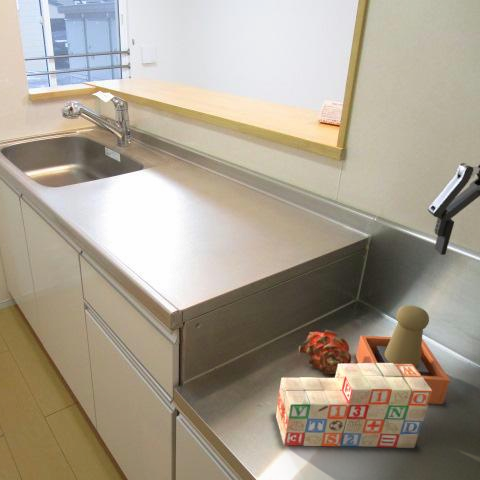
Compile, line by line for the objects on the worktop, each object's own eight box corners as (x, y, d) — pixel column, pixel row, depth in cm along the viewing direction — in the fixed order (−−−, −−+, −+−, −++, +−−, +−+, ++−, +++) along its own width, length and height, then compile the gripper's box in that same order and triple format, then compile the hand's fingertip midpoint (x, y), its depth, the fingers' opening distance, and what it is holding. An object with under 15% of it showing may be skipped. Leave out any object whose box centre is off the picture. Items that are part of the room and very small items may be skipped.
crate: (416, 361, 93) (422, 338, 90) (442, 404, 82) (450, 380, 79) (355, 357, 94) (360, 335, 92) (373, 399, 83) (379, 375, 81)
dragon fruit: (337, 395, 86) (305, 363, 97) (371, 367, 86) (335, 338, 97) (315, 368, 83) (285, 337, 95) (350, 338, 83) (316, 311, 94)
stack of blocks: (283, 447, 74) (291, 389, 69) (275, 417, 79) (282, 362, 74) (415, 448, 73) (433, 389, 68) (397, 418, 79) (413, 362, 74)
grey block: (409, 366, 90) (414, 347, 89) (423, 390, 84) (429, 372, 82) (372, 363, 91) (376, 345, 89) (384, 388, 85) (388, 369, 83)
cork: (418, 373, 82) (432, 322, 77) (382, 361, 85) (394, 312, 80) (420, 354, 87) (434, 306, 82) (386, 344, 90) (398, 297, 85)
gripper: (581, 132, 76) (539, 246, 85) (425, 131, 79) (400, 242, 87) (617, 142, 69) (567, 265, 78) (444, 140, 72) (415, 259, 81)
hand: (479, 253), depth 83 cm, fingers open, 13 cm apart
